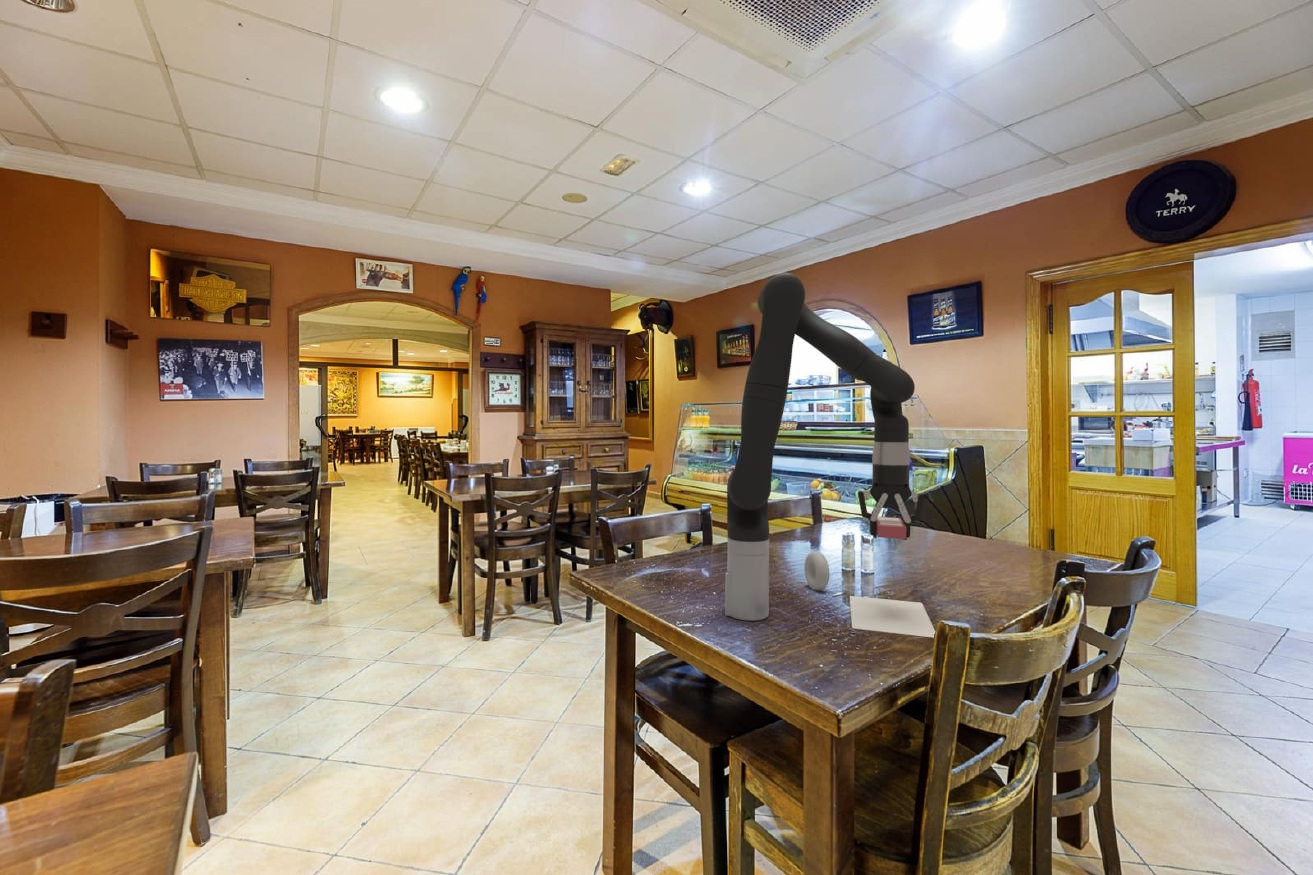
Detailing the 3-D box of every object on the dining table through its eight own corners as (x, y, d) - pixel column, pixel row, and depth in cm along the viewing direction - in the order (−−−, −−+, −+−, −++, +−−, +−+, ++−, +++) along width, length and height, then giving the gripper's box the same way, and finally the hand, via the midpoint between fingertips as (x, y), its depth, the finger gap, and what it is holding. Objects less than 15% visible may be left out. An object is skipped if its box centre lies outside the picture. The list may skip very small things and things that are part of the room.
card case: (874, 526, 127) (878, 537, 116) (874, 516, 127) (878, 525, 116) (899, 528, 126) (906, 539, 114) (900, 517, 126) (906, 527, 114)
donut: (832, 596, 134) (832, 556, 134) (818, 596, 134) (819, 556, 134) (814, 584, 144) (814, 547, 144) (801, 584, 144) (802, 547, 143)
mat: (852, 630, 112) (852, 628, 112) (849, 598, 133) (849, 595, 133) (938, 640, 107) (938, 637, 107) (921, 605, 128) (921, 602, 128)
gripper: (856, 462, 118) (855, 539, 119) (929, 464, 114) (928, 544, 114) (855, 460, 126) (854, 533, 126) (924, 462, 121) (922, 537, 122)
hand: (889, 538), depth 120 cm, fingers closed on card case, 5 cm apart
